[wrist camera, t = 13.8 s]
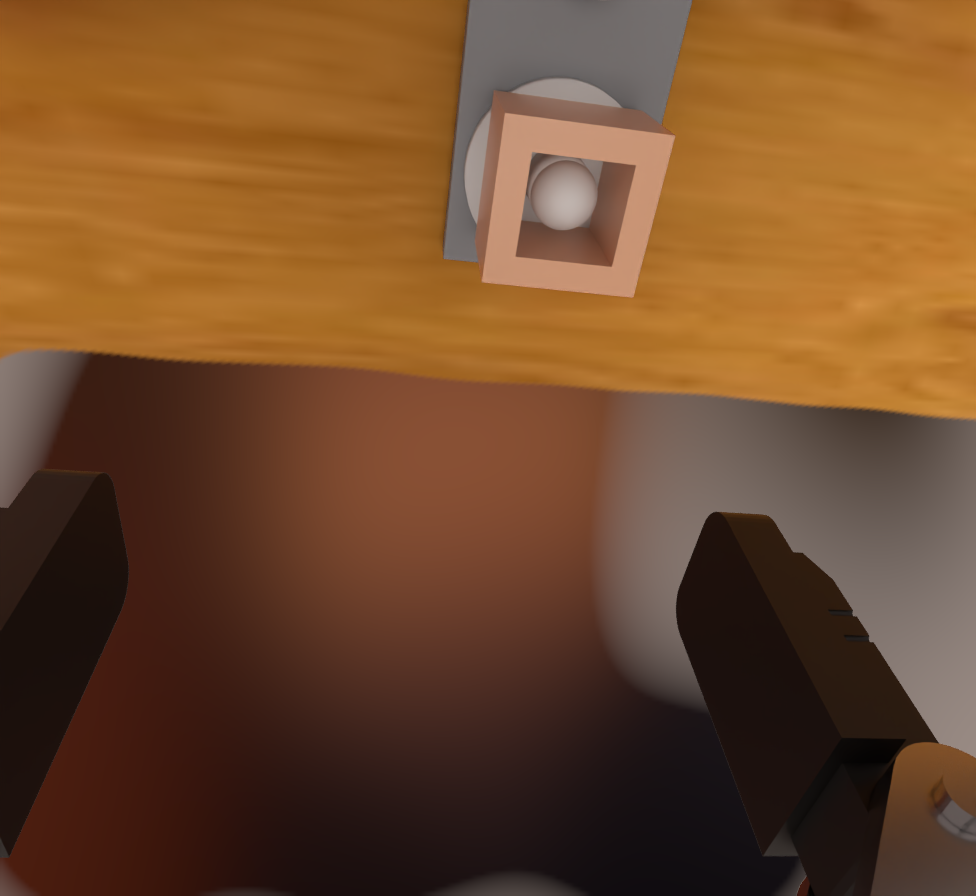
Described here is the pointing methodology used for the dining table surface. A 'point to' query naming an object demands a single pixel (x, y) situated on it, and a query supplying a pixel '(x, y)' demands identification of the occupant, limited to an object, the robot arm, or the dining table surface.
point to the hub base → (555, 93)
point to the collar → (620, 203)
